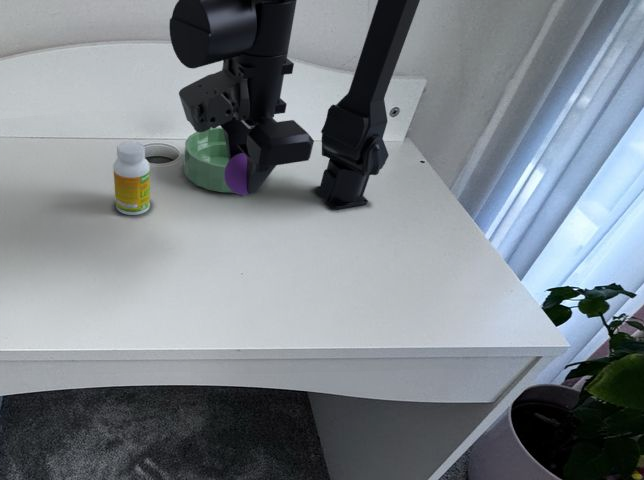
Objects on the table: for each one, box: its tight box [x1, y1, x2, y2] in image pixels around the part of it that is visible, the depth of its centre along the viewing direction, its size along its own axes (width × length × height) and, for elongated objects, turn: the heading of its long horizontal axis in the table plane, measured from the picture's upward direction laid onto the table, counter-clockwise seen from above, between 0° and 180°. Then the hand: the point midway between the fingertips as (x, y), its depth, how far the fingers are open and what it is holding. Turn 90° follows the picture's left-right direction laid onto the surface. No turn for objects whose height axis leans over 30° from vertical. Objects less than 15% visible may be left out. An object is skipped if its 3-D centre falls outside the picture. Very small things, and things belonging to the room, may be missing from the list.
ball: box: [224, 153, 249, 196], centre depth 63 cm, size 5×5×5 cm
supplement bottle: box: [113, 140, 151, 216], centre depth 76 cm, size 5×5×10 cm
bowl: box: [183, 126, 234, 193], centre depth 85 cm, size 14×14×5 cm
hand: (243, 182), depth 64 cm, fingers closed on ball, 5 cm apart
